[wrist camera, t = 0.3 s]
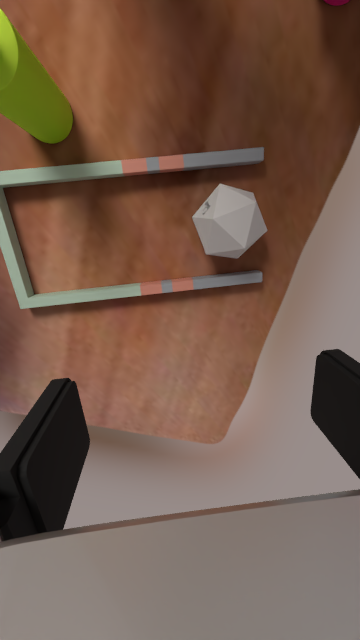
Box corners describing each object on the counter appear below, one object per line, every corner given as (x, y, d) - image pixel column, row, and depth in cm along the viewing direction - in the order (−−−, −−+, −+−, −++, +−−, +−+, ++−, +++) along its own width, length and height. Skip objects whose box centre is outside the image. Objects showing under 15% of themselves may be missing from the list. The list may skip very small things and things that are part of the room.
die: (245, 181, 36) (215, 159, 28) (286, 227, 34) (266, 218, 26) (205, 227, 40) (169, 219, 32) (239, 270, 39) (210, 273, 31)
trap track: (-13, 176, 33) (-23, 173, 31) (258, 151, 34) (263, 146, 32) (27, 304, 39) (20, 308, 37) (257, 279, 40) (262, 281, 38)
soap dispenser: (79, 151, 33) (-29, 52, 14) (20, 136, 32) (-182, 6, 13) (84, 95, 31) (-33, -108, 12) (21, 76, 30) (-212, -176, 11)
